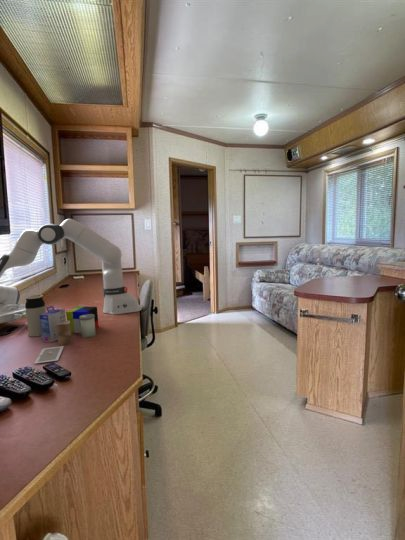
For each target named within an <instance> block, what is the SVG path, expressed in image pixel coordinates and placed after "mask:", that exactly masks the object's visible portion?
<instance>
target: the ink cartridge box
mask: <svg viewBox="0 0 405 540" xmlns="http://www.w3.org/2000/svg"><path fill="white" fill-rule="evenodd" d="M50 308H51V309H50ZM45 310H46V311H47V312H46V313H44V314H41V315H39V316H40V323H41V330H42V335H41V336H42V341H43V343H45V342H46V343H53V342H55V341H58V335H57V326H56V325H57V322H61V321H67V317H66V310H65V309H64V308H55V307H54V305H51V306H47V307H46V306H45Z"/></svg>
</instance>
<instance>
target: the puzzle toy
mask: <svg viewBox="0 0 405 540" xmlns="http://www.w3.org/2000/svg"><path fill="white" fill-rule="evenodd" d="M85 314H94V315H95V318H94V321H95V329H97V328H98V327H99V317H98V316H99V315H98V306H77V307H75V308H72V309H70V310H67V311H65V316H66V321H69V320H70V323H71V333H72V334H75V333H76V334H81V324H80V319H79V317H80V316H81V315H85Z"/></svg>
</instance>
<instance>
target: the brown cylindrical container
mask: <svg viewBox="0 0 405 540" xmlns="http://www.w3.org/2000/svg"><path fill="white" fill-rule="evenodd" d="M56 326H57V335H58V340H57V343H58V344H57V345H58V347H59V346H69V345H73V344H72V343H73V335H72V334H73V333H71V323H70V320H69V321H67V320H66V321H61V322H57V325H56Z"/></svg>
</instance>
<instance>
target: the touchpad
mask: <svg viewBox="0 0 405 540" xmlns="http://www.w3.org/2000/svg"><path fill="white" fill-rule="evenodd" d="M64 348H65V345H63V346H59V345H58V346H54V347H53V346H52V347H45V348H42V350H41V351H40V353H39V355H38V356H37V358H36V360H35V361H34V362H33V364H41V363H47V362H49V363H50V362H56V361H59V359H60V356H61V354H62V352H63V349H64Z"/></svg>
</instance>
